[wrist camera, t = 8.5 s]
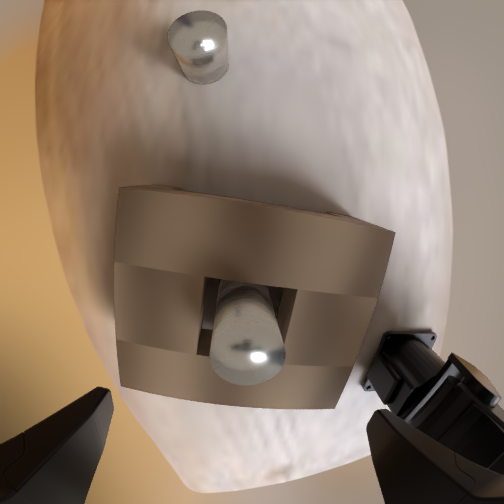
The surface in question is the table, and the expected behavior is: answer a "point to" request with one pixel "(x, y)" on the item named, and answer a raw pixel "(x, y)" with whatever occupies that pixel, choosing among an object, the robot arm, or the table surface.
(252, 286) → the long pin
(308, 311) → the board
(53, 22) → the table surface
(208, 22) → the short pin
